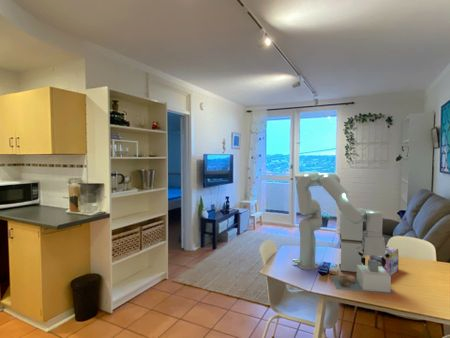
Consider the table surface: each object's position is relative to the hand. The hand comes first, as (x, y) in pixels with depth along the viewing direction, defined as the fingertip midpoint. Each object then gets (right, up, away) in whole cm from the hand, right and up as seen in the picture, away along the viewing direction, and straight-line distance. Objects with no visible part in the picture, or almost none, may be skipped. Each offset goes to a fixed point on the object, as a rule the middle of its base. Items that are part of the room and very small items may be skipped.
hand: (373, 265), depth 149 cm
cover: (0, -11, +1) cm, 11 cm away
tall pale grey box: (-3, -12, +22) cm, 25 cm away
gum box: (+16, -12, +18) cm, 27 cm away
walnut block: (-15, -11, +2) cm, 19 cm away
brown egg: (-10, -11, +5) cm, 16 cm away
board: (-6, -12, +2) cm, 14 cm away
